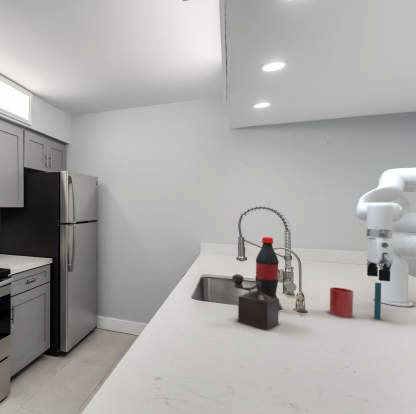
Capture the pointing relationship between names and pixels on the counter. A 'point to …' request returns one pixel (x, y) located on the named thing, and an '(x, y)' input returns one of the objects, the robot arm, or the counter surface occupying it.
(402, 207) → the robot arm
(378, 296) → the straw
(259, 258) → the cola bottle
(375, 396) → the counter surface
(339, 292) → the can
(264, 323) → the manual coffee grinder
